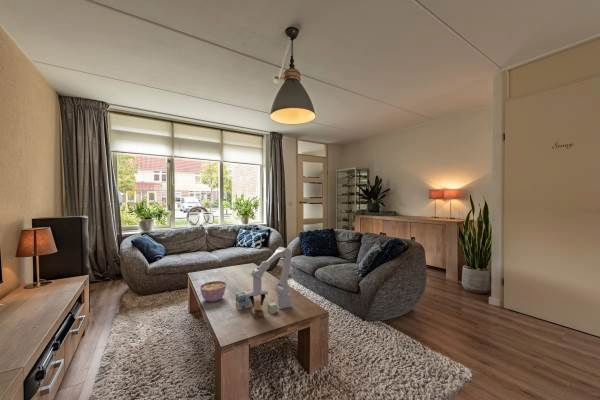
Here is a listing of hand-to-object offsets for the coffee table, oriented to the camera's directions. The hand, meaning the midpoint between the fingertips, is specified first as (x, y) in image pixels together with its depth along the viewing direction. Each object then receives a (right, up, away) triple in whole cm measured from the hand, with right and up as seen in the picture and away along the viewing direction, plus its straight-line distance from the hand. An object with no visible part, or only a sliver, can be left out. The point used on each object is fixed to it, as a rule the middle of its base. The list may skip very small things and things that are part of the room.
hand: (257, 305), depth 167 cm
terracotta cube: (0, -1, 0) cm, 1 cm away
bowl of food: (-40, -7, +25) cm, 48 cm away
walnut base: (0, -7, 0) cm, 7 cm away
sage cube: (+10, -6, +5) cm, 13 cm away
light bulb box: (-12, -7, +12) cm, 19 cm away
